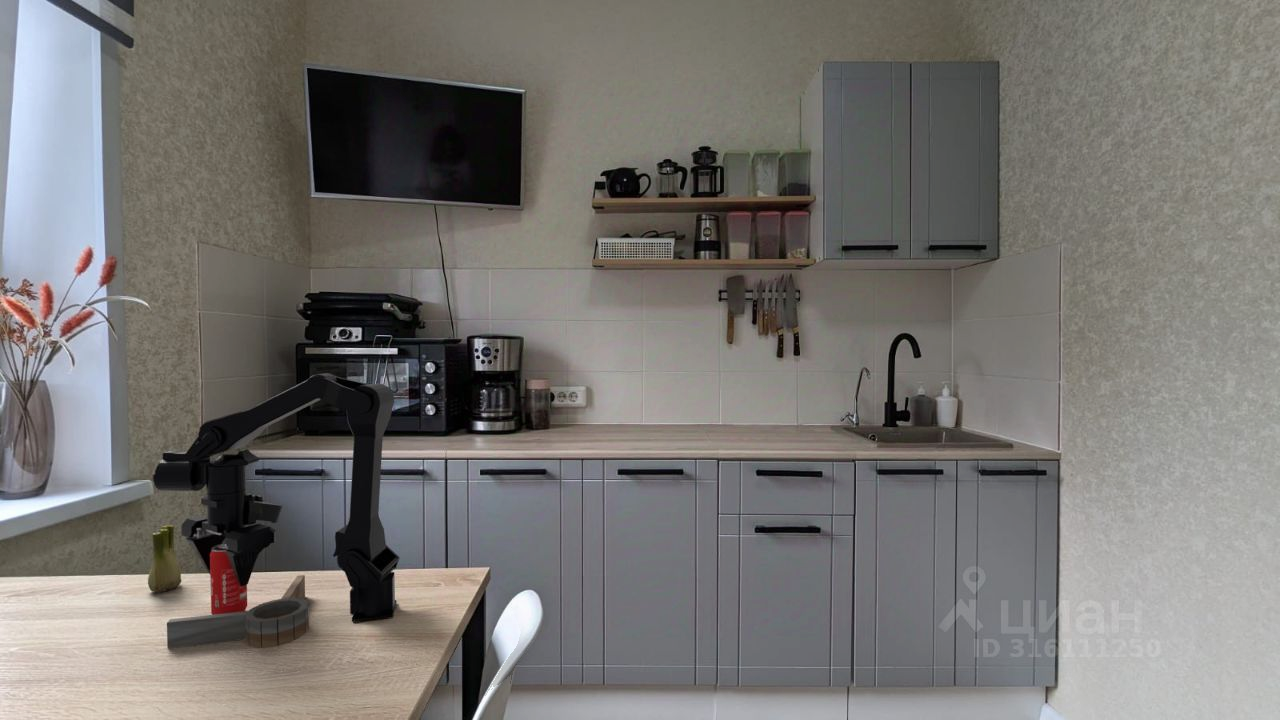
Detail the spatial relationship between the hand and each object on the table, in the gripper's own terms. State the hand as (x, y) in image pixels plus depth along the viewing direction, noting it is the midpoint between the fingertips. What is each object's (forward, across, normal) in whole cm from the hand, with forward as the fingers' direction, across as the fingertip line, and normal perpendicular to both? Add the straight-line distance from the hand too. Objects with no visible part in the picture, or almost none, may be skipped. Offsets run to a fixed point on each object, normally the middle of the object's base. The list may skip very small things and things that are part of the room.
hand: (229, 580), depth 107 cm
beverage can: (+6, 0, 0) cm, 6 cm away
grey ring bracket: (+6, -7, 0) cm, 9 cm away
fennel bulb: (+6, +23, 0) cm, 23 cm away
